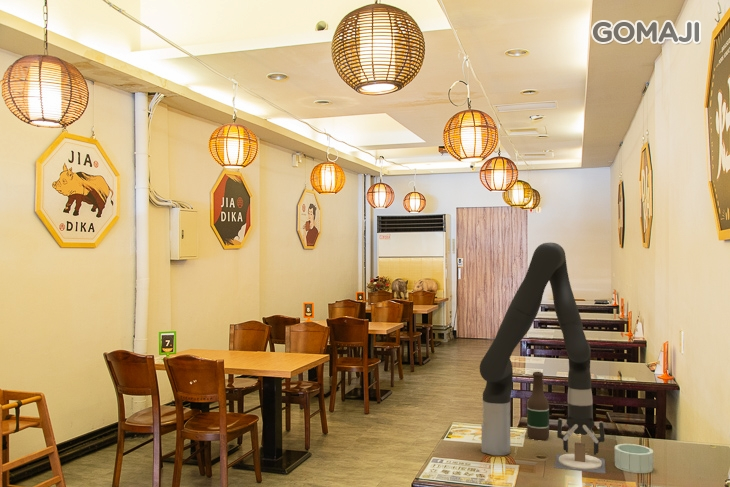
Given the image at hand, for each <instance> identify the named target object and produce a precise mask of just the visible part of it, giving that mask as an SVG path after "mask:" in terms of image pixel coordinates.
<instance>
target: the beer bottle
mask: <svg viewBox="0 0 730 487" xmlns="http://www.w3.org/2000/svg"><path fill="white" fill-rule="evenodd" d="M532 377H533V379H532V380H533V381H532V392H531V395H530V397H529V398H528V400H527V406H526V408H527V409H526V419H527V421H526V422H527V423H526V425H527V426H526V429H527V430H526V431H527V432H526V433H527V434H526V435H527V438H528V437H529V438H528V439H530V440H531V439H534V440H533V441H538V440H544V441H547V440H549V438H550V404H549V401H548V400H549V399H548V398H547V397H546V396H545V393H544V392H545V391H544V379H543V377H544V373H543V372H541V371H533V373H532Z"/></svg>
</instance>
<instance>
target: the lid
mask: <svg viewBox="0 0 730 487" xmlns="http://www.w3.org/2000/svg"><path fill="white" fill-rule="evenodd" d="M598 458H599V457H596V456H593V455H588V454H586V443H584V442H574V453H564V455H561V456H560V457H559V463H560V464H562V465H563V466H566V467H569V468H573V469H579V470H594V469H599V468H600V467H601V466H602V462H601V460H600V459H598Z"/></svg>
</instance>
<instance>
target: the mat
mask: <svg viewBox="0 0 730 487" xmlns="http://www.w3.org/2000/svg"><path fill="white" fill-rule="evenodd" d="M564 454H565V453H564ZM564 454H563V453H562V454H561V453H556V457H555V461H554V469H560V470H562V469H563V470H567V471H579V472H588V473H594V474H595V473H598V474H606V462H605V461H606V460H605V458H601V457H597V458H598V459H600V460H601V462H602V466H601V467H600V468H599V469H594V470H579V469H573V468H569V467H566V466H563V465H562V464H560V463H559V457H560V456H561V455H564Z"/></svg>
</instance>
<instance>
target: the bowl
mask: <svg viewBox="0 0 730 487" xmlns="http://www.w3.org/2000/svg"><path fill="white" fill-rule="evenodd" d="M614 466H615V468H617V469H618V470H621V471H623V472H627V473H633V474H647V473H648V474H649V473H651V472H653V471H654V450H653V448H650V447H647V446H644V445H641V444H633V443H620V444H617V445H616V444H615V445H614Z"/></svg>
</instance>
